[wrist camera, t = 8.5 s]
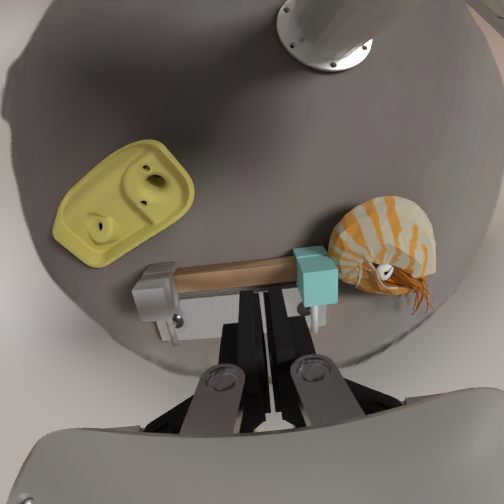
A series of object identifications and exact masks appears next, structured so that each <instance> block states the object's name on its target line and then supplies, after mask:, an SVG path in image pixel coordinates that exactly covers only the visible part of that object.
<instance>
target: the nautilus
mask: <svg viewBox="0 0 504 504" xmlns="http://www.w3.org/2000/svg"><path fill="white" fill-rule="evenodd" d="M328 256H329V257H330V258H331V259H332V261H333V262H334V264H335V265H336V266H337V268H338V278H339V279H340V280H342V281H343V282H345V283H349V284H352V285H354V287H356V288H357V289H359V290H361V291H365V292H369V293H375V294H384V295H399V294H401V295H402V294H406V295H407V294H409V293H410V292H412V291H413V290H414V289H415V290H416V291H414V292H416V299H415V305H416V301H417V295H418V304H419V305H418V304H417V308H416V310H415V311H414V313H415V312H416V311H417V309H418V308H419V306H420V304H421V302H422V300H423V298H424V297H425V299H426V296H427V299H426V301H427V311H428V304H429V305H430V303H429V302H428V295H427V293H428V292H429V290H428V284H427V280H426V277H425V276H426V275H429V274H433V273H436V246H435V240H434V235H433V228H432V225H431V223H430V221H429V219H428V217H427V216H426V214H425V212H424V211H423V210H422V209H421V208H420V207H419V206H418V205H417V204H416V203H414V202H412V201H410V200H408V199H405V198H401V197H396V196H384V197H378V198H374V199H372V200H370V201H367V202H365V203H363V204H361V205H359V206H357V207H355V208H354V209H352V210H351V211H350V212H348V213H347V214H346V215H345V216H344V217H343V218H342V219H341V221H340V222H339V223H338V224H337V225H336V226H335V227H334V228H333V231H332V234H331V237H330V241H329V245H328ZM423 283H426V285H427V290H428V292H427V291H426V292H427V293H426V292H425V290H426V289H425V287H424V285H423ZM417 288H418V289H417ZM419 291H420V292H421V293H422V296H421V300H420V303H419ZM414 292H413V293H414ZM425 294H426V296H425ZM428 294H430V293H428ZM401 295H400V296H401ZM430 295H431V294H430ZM431 296H432V295H431ZM405 297H406V296H405ZM399 298H400V297H399ZM432 298H433V297H432ZM433 299H434V298H433ZM415 305H414V308H415ZM430 306H431V305H430ZM414 308H413V310H414ZM431 308H432V306H431ZM432 309H433V308H432ZM427 311H426V313H427ZM414 313H413V314H414ZM413 314H411V315H413Z"/></svg>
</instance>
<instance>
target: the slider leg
mask: <svg viewBox="0 0 504 504" xmlns="http://www.w3.org/2000/svg"><path fill="white" fill-rule="evenodd" d="M293 255H294V257H295V259H296V264H297V280H296V281H295V282H296V285H297V288H298V291H299V293H300V296H301V299H302V302H303V305H304V307H311V308H310V309H309V310H310V313H311V332H312V333H317V332H318V306H320V305H327V304H333V303H338V268H337V266H336V265H335V264H334V262H333V261H332V259H331V258H330V257H329V256H328V253H327V251H326V250H325V248H324V247H323V246H322V245H321V246H312V247H304V248H295V249H293Z"/></svg>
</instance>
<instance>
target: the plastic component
mask: <svg viewBox="0 0 504 504" xmlns="http://www.w3.org/2000/svg"><path fill="white" fill-rule="evenodd" d="M144 165H146V166H145V169H144V168H143V166H144ZM151 175H159V176H161V177H160V178H156V177H153V176H151ZM193 200H194V184H193V181H192V179H191V177H190V176H189V174H188V173H187V172H186V170H185V169H184V168H183V167H182V166H181V164H180V163H179V162H178V161H177V160H176V159H175V157H174V156H173V155H172V154H171V153H170V151H169V150H168V149H167V148H166V147H165V146H164V145H163V144H162V143H161V142H159V141H156V140H152V139H149V140H141V141H137V142H134V143H131V144H128V145H126V146H124V147H122V148H120V149H118V150H117V151H115V152H114V153H112V154H111V155H109V156H108V157H106V158H105V159H104V160H103V161H101V162H100V163H99V164H98V165H97V166H95V167H94V168H93V169H92V170H91V171H90V172H89V173H87V174H86V175H85V176H84V177H83V178H82V179H81V180H80V181H79V182H78V183H76V184H75V185H74V186H73V187H72V188H71V189H70V190H69V191H68V193H67V194H66V195H65V197H64V198H63V200H62V202H61V203H60V206H59V208H58V211H57V215H56V218H55V222H54V226H53V230H52V233H53V236H54V238H55V239H56V240H57V241H58V242H59V243H60V244H62V245H63V246H64V247H65V248H66V249H68V250H69V251H70V252H71V253H73V254H74V255H75V256H76V257H77V258H79V259H80V260H81V261H83V262H84V263H85V264H87V265H89V266H91V267H96V268H101V267H105V266H107V265H109V264H110V263H112V262H113V261H115V260H116V259H118V258H119V257H121V256H122V255H124V254H125V253H127V252H129V251H130V250H132V249H133V248H135V247H136V246H138V245H139V244H141V243H143V242H144V241H146V240H147V239H149V238H151V237H152V236H154V235H155V234H157V233H159V232H160V231H162V230H164V229H165V228H167V227H168V226H170V225H171V224H173V223H174V222H176V221H177V220H178V219H180V218H181V217H182V216H183V215H184V214H185V213H186V212H187V211H188V210H189V208H190V207H191V205H192V203H193ZM141 201H146V202H147V203H146V204H143V203H142V202H141ZM100 223H102V230H100V229H99V224H100Z"/></svg>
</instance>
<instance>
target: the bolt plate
mask: <svg viewBox="0 0 504 504" xmlns="http://www.w3.org/2000/svg"><path fill="white" fill-rule="evenodd" d="M272 287H280V286H272ZM272 287H263V288H254V289H245V290H253V292H254V293H259V298H260V306H261V314H262V323H263V331H264V333H267V328H266V318H265V308H264V297H263V292H268V288H272ZM281 288H282V292H283V297H284V301H285V306H286V311H287V315H288V317H292V316H300V315H304V316H305V318H306V322H307V325H308V328H310V327H311V313H310V310H309V309H310V308H311V307H304V305H303V302H302V299H301V296H300V293H299V291H298V288H297V285H296V284H289V285H281ZM245 290H235V291H226V292H216V293H205V294H194V295H183V296H181V299H180V301H179V303H178V305H177V308H176V310H175V313H174V315H173V318H172V320H173V321H176V322H177V324H176V327H175V331H176V334H177V337H178V340H189V339H205V338H219V337H222V328H223V324H228V323H238V315H239V293H240V291H245ZM156 323H157V326H158V329H159V332H160V335H161V338H162V341H168V340H171V338H170V335H169V332H168V328H167V325H166V322H165V321H156ZM324 325H326V305H320V306H318V326H324Z"/></svg>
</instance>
